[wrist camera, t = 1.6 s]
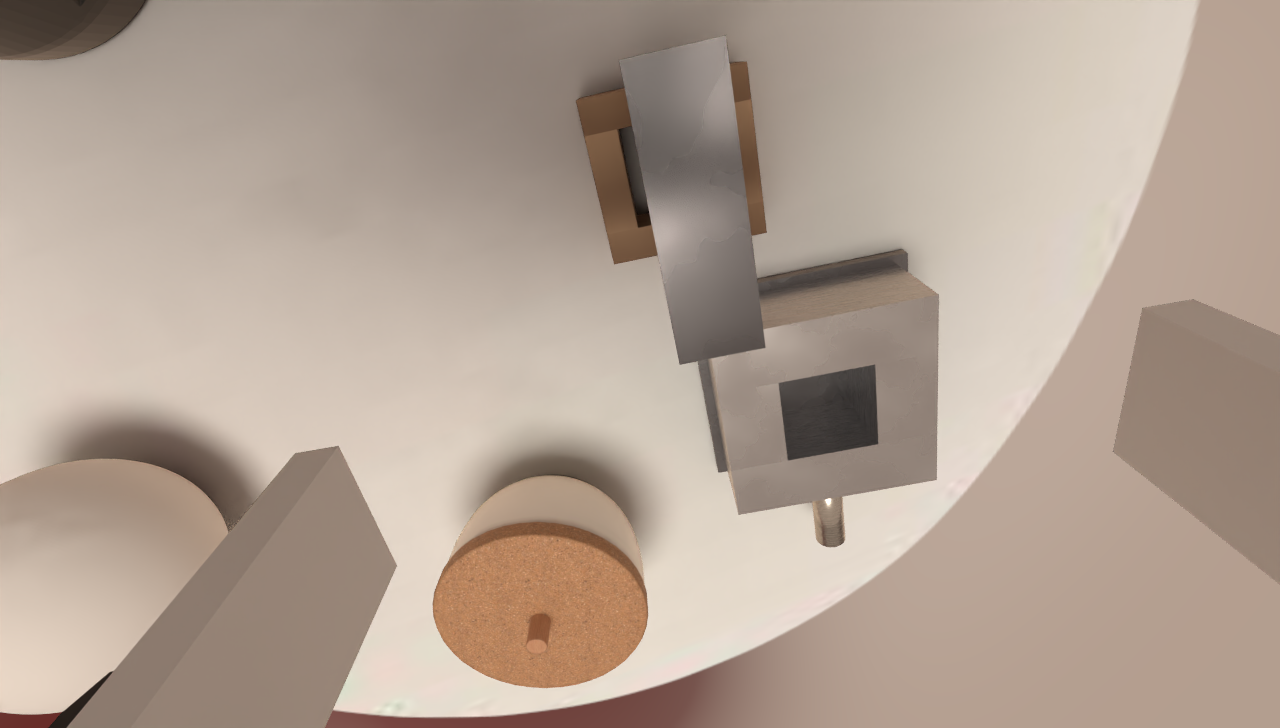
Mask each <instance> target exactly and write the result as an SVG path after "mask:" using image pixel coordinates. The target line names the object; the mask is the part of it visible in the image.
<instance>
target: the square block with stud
mask: <svg viewBox="0 0 1280 728" xmlns="http://www.w3.org/2000/svg"><path fill="white" fill-rule="evenodd" d="M757 283H758V291H759V299H760V307H761V315H762V323H763V331H764V338H765V346H766V348H762V349H757V350H752V351H747V352H742V353H737V354H732V355H727V356H721V357H716V358H711V359H706V360H701V361H698V365H699V371H700V376H701V382H702V387H703V392H704V398H705V403H706V409H707V414H708V419H709V425H710V430H711V436H712V441H713V447H714V452H715V457H716V463H717V468H718V472H725V471H728V475H729V478H730V482H731V486H732V490H733V494H734V498H735V502H736V506H737V510H738V514H739V515H740V514H746V513H752V512H757V511H763V510H769V509H774V508H780V507H786V506H791V505H797V504H803V503H808V502H812V504H813V514H814V524H815V533H816V540H817V541H818V542H819V543H820V544H821V545H823V546H826V547H837V546H839V545H841V544H842V543H843V542H844V541H845V527H844V513H843V500H842V496H848V495H853V494H859V493H865V492H870V491H876V490H882V489H887V488H893V487H899V486H904V485H910V484H916V483H921V482H927V481H933V480H937V401H938V315H939V294H937V293H936V292H934V291H933V290H932V289H930V288H929V287H928V286H926V285H925V284H923V283H922V282H921V281H919V280H918V279H917V278H915V277H914V276H912V275H911V274H910V273H908V254H907V252H906V251H904V250H903V249H902V250H897V251H892V252H887V253H883V254H878V255H873V256H868V257H863V258H858V259H853V260H848V261H843V262H838V263H833V264H829V265H824V266H819V267H814V268H809V269H804V270H799V271H794V272H789V273H784V274H779V275H775V276H770V277H765V278H760V279H757Z"/></svg>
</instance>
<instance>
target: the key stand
mask: <svg viewBox="0 0 1280 728" xmlns="http://www.w3.org/2000/svg"><path fill="white" fill-rule="evenodd" d="M730 72H731V80H732V88H733V95H734V103H735V111H736V119H737V127H738V135H739V142H740V150H741V158H742V166H743V174H744V182H745V189H746V197H747V205H748V213H749V221H750V229H751V236H752V235H757V234H762V233H767V231H766V223H765V214H764V205H763V197H762V188H761V179H760V171H759V162H758V154H757V145H756V136H755V128H754V119H753V111H752V102H751V93H750V85H749V76H748V67H747V62H734V63H730ZM576 103H577V108H578V112H579V116H580V121H581V125H582V129H583V133H584V138H585V142H586V146H587V150H588V155H589V159H590V163H591V167H592V172H593V176H594V180H595V185H596V189H597V193H598V197H599V202H600V206H601V210H602V214H603V219H604V223H605V227H606V232H607V236H608V240H609V244H610V249H611V253H612V257H613V261H614V264H618V263H623V262H628V261H633V260H637V259H642V258H647V257H652V256H656V255H658V253H657V248H656V243H655V238H654V233H653V228H652V223H651V218H650V213H647V214H642V215H637V214H636V209H635V204H634V199H633V194H632V190H631V185H630V180H629V175H628V171H627V166H626V161H625V156H624V151H623V147H622V142H621V137H620V132H619V129H620V128H625V127H629V126H632V123H631V118H630V113H629V108H628V103H627V98H626V93H625V88H621V89H616V90H612V91H608V92H603V93H599V94H595V95H590V96H586V97H582V98H579V99H578V100H576Z"/></svg>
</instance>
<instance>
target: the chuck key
mask: <svg viewBox="0 0 1280 728" xmlns="http://www.w3.org/2000/svg"><path fill="white" fill-rule="evenodd" d="M619 63H620V68H621V73H622V78H623V83H624V88H625V93H626V98H627V103H628V108H629V113H630V118H631V123H632V128H633V133H634V138H635V143H636V148H637V153H638V158H639V163H640V168H641V173H642V178H643V183H644V188H645V193H646V198H647V203H648V208H649V213H650V218H651V223H652V228H653V233H654V238H655V243H656V248H657V253H658V258H659V263H660V268H661V273H662V278H663V283H664V288H665V293H666V298H667V303H668V308H669V313H670V318H671V323H672V328H673V333H674V338H675V343H676V348H677V353H678V358H679V363H680V365H681V364H686V363H691V362H696V361H701V360H706V359H711V358H716V357H721V356H727V355H732V354H737V353H742V352H747V351H752V350H757V349H762V348H766V346H765V338H764V331H763V323H762V315H761V307H760V299H759V291H758V283H757V276H756V268H755V260H754V252H753V244H752V236H751V229H750V221H749V213H748V205H747V197H746V189H745V182H744V174H743V166H742V158H741V150H740V142H739V135H738V127H737V119H736V111H735V103H734V95H733V88H732V80H731V72H730V64H729V56H728V48H727V40H726V35H724V36H720V37H715V38H711V39H707V40H703V41H698V42H694V43H690V44H685V45H681V46H677V47H673V48H668V49H664V50H660V51H655V52H651V53H647V54H642V55H638V56H634V57H630V58H625V59H621V60H619Z"/></svg>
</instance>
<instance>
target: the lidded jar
mask: <svg viewBox="0 0 1280 728" xmlns="http://www.w3.org/2000/svg"><path fill="white" fill-rule="evenodd" d="M433 616H434V619H435V623H436V626H437V629H438V631H439V633H440V635H441V637H442V639H443V641H444V642H445V643H446V645H447V646H448V647H449V648H450V650H451V651H452V652H453V653H454V654H455V655H456V656H457V657H458V658H459V659H460V660H461V661H463V662H464V663H466V664H467V665H469V666H470V667H472V668H473V669H475V670H477V671H478V672H480V673H482V674H484V675H486V676H488V677H491V678H494V679H496V680H499V681H502V682H506V683H510V684H513V685H519V686H526V687H538V688H553V687H564V686H570V685H576V684H580V683H583V682H587V681H590V680H592V679H595V678H597V677H600V676H602V675H604V674H606V673H608V672H609V671H611V670H613V669H614V668H616V667H617V666H618V665H620V664H621V663H622V662H624V661H625V660H626V659H627V658H628V657H629V656H630V654H631V653H632V652H633V651H634V650H635V649H636V647H637V646H638V644H639V643H640V641H641V639H642V637H643V635H644V632H645V629H646V626H647V619H648V605H647V593H646V589H645V585H644V573H643V563H642V558H641V553H640V549H639V546H638V542H637V539H636V536H635V534H634V531H633V529H632V527H631V525H630V523H629V521H628V519H627V518H626V516H625V515H624V513H623V512H622V510H621V509H620V508H619V506H618V505H617V504H616V503H615V502H614V501H613V500H612V499H611V498H610V497H609V496H607V495H606V494H605V493H603V492H602V491H600V490H599V489H598V488H596V487H594V486H592V485H590V484H588V483H586V482H584V481H581V480H578V479H575V478H571V477H566V476H558V475H546V476H536V477H531V478H526V479H523V480H520V481H517V482H515V483H512V484H510V485H508V486H506V487H505V488H503V489H501V490H499V491H498V492H497V493H495V494H494V495H493V496H491V497H490V498H489V499H488V500H486V501H485V502H484V503H483V504H482V505H481V506H480V507H479V508H478V509H477V510H476V512H475V513H474V514H473V516H472V517H471V518H470V520H469V521H468V523H467V524H466V526H465V527H464V529H463V530H462V532H461V534H460V536H459V538H458V539H457V541H456V543H455V546H454V548H453V551H452V553H451V555H450V558H449V561H448V563H447V564H446V566H445V567H444V569H443V571H442V574H441V576H440V579H439V581H438V584H437V586H436V589H435V592H434V599H433Z"/></svg>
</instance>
